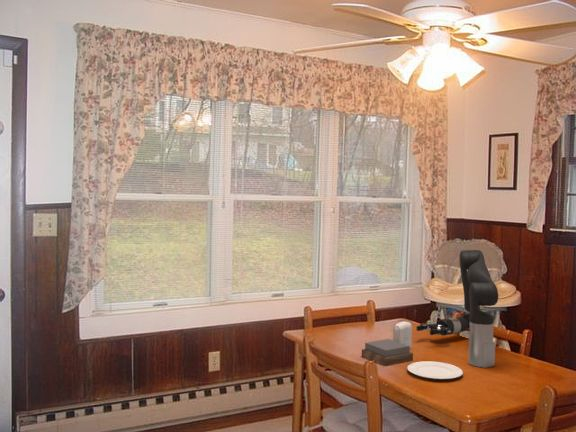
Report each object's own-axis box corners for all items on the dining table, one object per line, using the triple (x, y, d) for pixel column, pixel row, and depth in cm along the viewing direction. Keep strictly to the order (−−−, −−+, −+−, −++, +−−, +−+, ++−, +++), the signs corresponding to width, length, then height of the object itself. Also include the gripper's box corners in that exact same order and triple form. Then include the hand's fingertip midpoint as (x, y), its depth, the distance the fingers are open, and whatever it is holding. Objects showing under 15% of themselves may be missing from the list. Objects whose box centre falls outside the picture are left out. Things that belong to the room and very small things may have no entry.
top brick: (409, 353, 231) (409, 345, 231) (385, 357, 224) (385, 350, 224) (388, 345, 242) (388, 338, 242) (365, 349, 235) (365, 342, 235)
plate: (468, 371, 218) (468, 366, 218) (455, 387, 200) (455, 381, 200) (416, 362, 229) (416, 358, 229) (399, 377, 211) (399, 372, 211)
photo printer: (404, 346, 252) (405, 319, 252) (412, 348, 249) (413, 321, 249) (391, 350, 245) (391, 322, 245) (399, 352, 242) (399, 324, 242)
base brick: (412, 360, 231) (413, 353, 231) (385, 366, 223) (385, 358, 223) (388, 351, 244) (388, 344, 244) (361, 356, 236) (361, 349, 236)
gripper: (437, 315, 268) (412, 319, 260) (460, 321, 256) (435, 325, 247) (437, 331, 268) (412, 335, 260) (460, 337, 256) (435, 342, 248)
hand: (423, 330), depth 254 cm, fingers open, 8 cm apart
